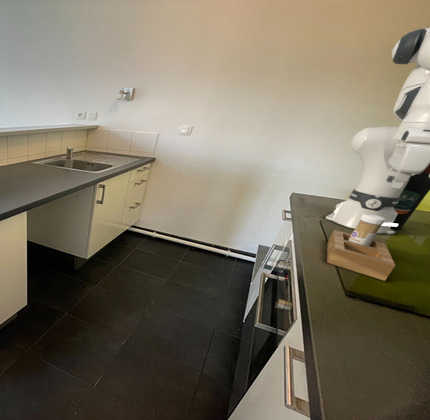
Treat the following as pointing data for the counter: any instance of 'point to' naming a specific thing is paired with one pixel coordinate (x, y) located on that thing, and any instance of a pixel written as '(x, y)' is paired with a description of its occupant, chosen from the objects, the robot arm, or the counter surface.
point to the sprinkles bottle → (366, 229)
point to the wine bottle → (411, 197)
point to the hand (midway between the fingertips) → (392, 184)
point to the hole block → (359, 256)
